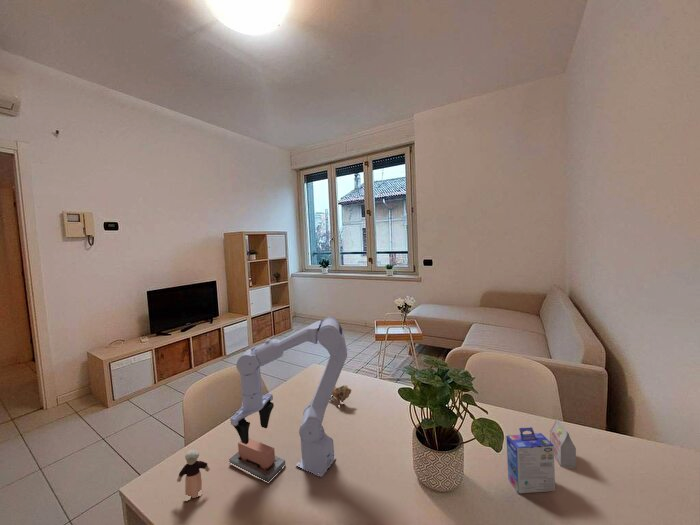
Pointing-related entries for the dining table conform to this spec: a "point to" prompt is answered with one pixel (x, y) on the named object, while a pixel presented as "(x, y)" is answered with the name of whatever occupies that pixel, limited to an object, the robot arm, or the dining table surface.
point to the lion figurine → (341, 393)
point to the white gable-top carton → (563, 446)
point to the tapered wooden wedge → (257, 453)
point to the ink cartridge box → (530, 462)
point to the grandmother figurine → (192, 473)
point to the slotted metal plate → (258, 467)
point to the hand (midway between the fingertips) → (255, 434)
